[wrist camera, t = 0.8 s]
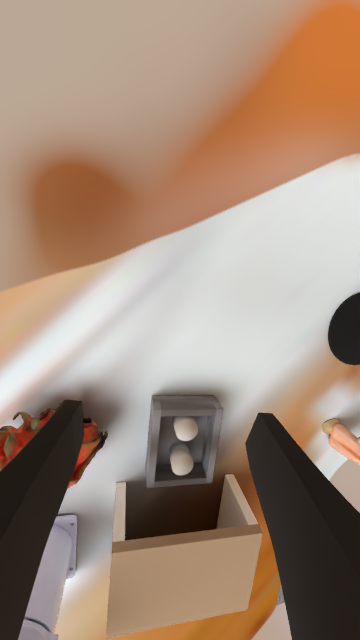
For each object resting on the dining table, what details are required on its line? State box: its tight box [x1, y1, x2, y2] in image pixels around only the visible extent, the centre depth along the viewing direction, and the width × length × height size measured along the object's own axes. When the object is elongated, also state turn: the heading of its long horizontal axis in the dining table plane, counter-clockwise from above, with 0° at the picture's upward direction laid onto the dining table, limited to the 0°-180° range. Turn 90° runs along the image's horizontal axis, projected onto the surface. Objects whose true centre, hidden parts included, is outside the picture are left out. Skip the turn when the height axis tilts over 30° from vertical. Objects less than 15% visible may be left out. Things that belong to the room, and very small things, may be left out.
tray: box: [145, 395, 223, 488], centre depth 30 cm, size 10×8×4 cm
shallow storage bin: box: [106, 474, 263, 639], centre depth 30 cm, size 11×16×8 cm
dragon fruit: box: [0, 403, 108, 488], centre depth 25 cm, size 8×8×12 cm
